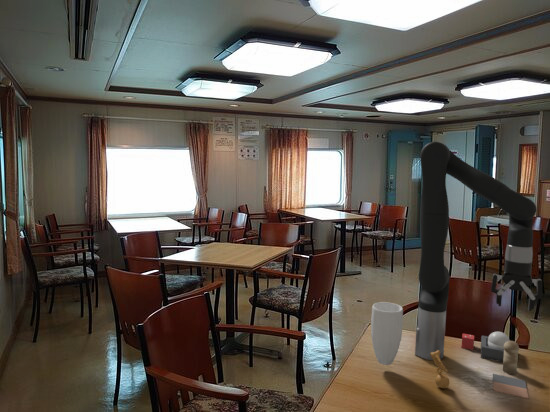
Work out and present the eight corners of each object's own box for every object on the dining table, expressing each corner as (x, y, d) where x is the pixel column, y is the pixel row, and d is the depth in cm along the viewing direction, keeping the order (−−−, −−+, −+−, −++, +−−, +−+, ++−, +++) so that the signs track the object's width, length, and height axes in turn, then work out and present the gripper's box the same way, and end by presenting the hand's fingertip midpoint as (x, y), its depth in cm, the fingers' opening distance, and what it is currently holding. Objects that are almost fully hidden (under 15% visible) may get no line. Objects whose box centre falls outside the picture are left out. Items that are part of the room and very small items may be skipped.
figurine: (455, 394, 123) (458, 356, 121) (436, 395, 122) (439, 357, 121) (440, 380, 131) (443, 343, 130) (422, 381, 130) (425, 344, 129)
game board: (493, 390, 125) (493, 389, 125) (492, 374, 135) (492, 373, 135) (528, 398, 121) (528, 397, 121) (524, 381, 131) (524, 380, 131)
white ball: (487, 352, 148) (488, 333, 147) (487, 345, 154) (488, 327, 153) (509, 357, 144) (511, 337, 144) (508, 349, 151) (510, 330, 150)
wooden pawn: (502, 372, 136) (504, 342, 135) (501, 367, 140) (503, 337, 139) (517, 376, 134) (520, 345, 133) (516, 370, 138) (519, 340, 137)
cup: (364, 373, 134) (367, 308, 132) (372, 359, 144) (375, 299, 141) (397, 381, 130) (400, 315, 127) (403, 367, 139) (407, 305, 136)
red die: (461, 347, 155) (462, 336, 154) (461, 343, 158) (462, 332, 158) (473, 349, 153) (474, 338, 152) (473, 345, 156) (474, 334, 156)
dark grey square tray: (480, 357, 147) (481, 346, 146) (480, 345, 157) (481, 335, 156) (516, 364, 142) (517, 353, 142) (514, 351, 152) (515, 341, 151)
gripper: (493, 258, 133) (490, 307, 135) (546, 264, 127) (541, 315, 128) (493, 254, 140) (489, 301, 141) (543, 259, 133) (538, 308, 135)
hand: (514, 307), depth 135 cm, fingers open, 8 cm apart
